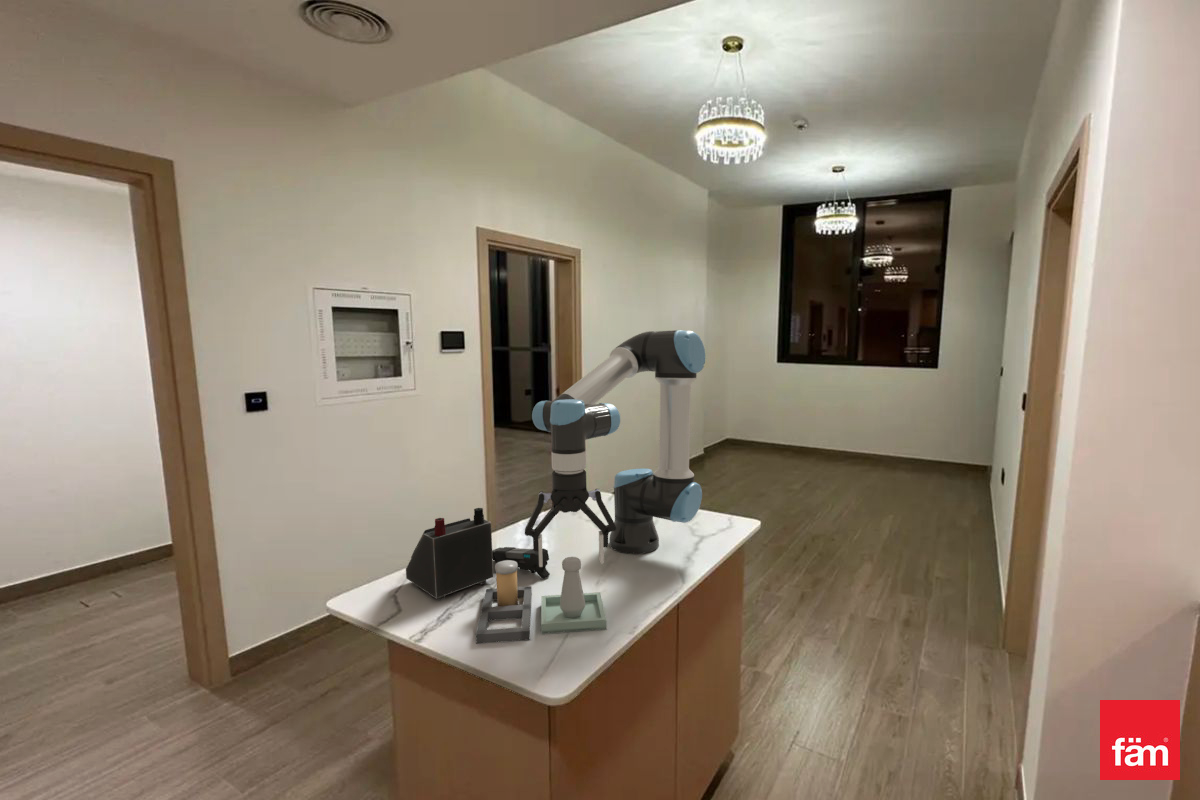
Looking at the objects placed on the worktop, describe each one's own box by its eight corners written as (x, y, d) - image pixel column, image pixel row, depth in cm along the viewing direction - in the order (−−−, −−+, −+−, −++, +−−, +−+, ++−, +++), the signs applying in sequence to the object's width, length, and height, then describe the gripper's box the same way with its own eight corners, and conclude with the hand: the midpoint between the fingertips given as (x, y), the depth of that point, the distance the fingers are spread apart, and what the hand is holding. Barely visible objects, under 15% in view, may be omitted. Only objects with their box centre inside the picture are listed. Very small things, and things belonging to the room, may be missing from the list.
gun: (543, 581, 140) (532, 543, 141) (496, 586, 153) (487, 551, 154) (555, 575, 144) (545, 538, 145) (509, 581, 156) (500, 547, 157)
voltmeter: (460, 564, 152) (457, 495, 150) (493, 582, 141) (490, 508, 139) (406, 583, 141) (401, 509, 139) (436, 604, 130) (432, 523, 127)
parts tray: (600, 600, 129) (600, 592, 129) (606, 629, 117) (606, 619, 116) (541, 604, 128) (541, 595, 128) (541, 634, 115) (541, 624, 115)
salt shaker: (559, 608, 125) (558, 554, 124) (584, 606, 125) (583, 553, 124) (560, 621, 119) (558, 564, 118) (586, 619, 120) (585, 563, 118)
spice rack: (531, 593, 134) (530, 554, 133) (529, 639, 113) (527, 593, 112) (486, 596, 133) (485, 556, 132) (476, 643, 112) (473, 596, 111)
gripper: (622, 463, 124) (623, 553, 126) (512, 468, 121) (516, 559, 123) (627, 471, 116) (628, 566, 119) (510, 476, 114) (514, 573, 116)
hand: (571, 562), depth 121 cm, fingers open, 13 cm apart
